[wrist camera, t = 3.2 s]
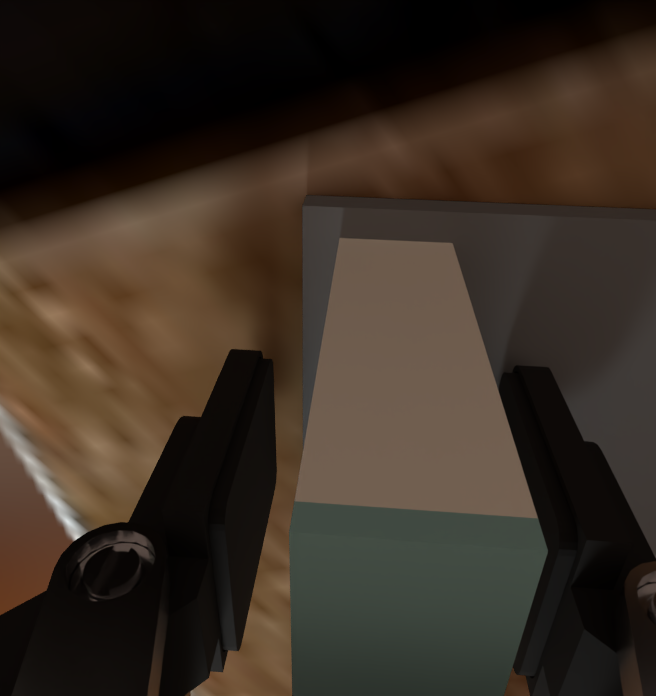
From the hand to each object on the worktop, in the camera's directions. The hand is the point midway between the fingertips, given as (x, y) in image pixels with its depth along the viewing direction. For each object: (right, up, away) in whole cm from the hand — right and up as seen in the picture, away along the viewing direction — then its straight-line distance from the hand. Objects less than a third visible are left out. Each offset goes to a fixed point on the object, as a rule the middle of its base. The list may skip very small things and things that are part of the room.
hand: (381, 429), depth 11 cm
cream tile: (0, 0, 0) cm, 0 cm away
